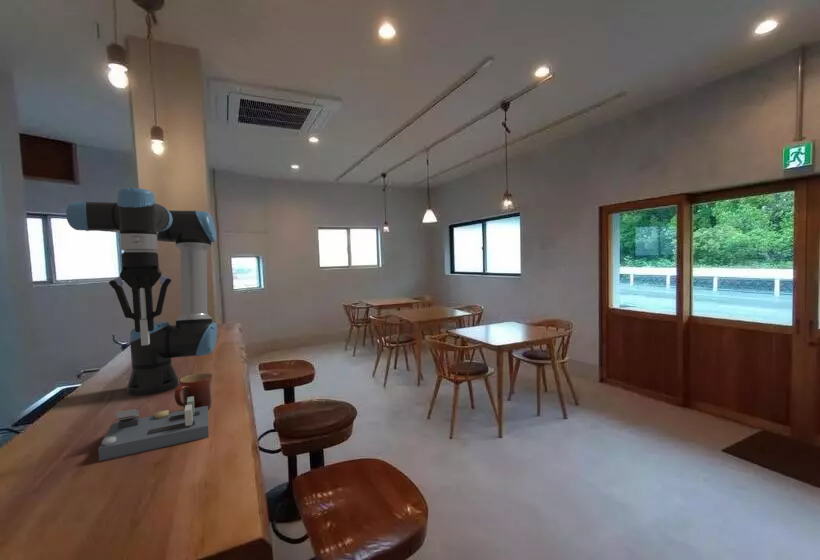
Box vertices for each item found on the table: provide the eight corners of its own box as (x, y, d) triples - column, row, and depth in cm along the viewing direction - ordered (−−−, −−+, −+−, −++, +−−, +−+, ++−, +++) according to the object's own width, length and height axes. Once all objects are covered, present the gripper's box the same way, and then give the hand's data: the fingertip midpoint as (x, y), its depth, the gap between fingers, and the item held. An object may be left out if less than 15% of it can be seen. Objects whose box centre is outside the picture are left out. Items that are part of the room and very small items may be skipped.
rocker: (122, 419, 98) (122, 412, 98) (139, 416, 100) (139, 409, 100) (116, 418, 91) (116, 411, 92) (133, 415, 93) (133, 408, 93)
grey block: (188, 411, 103) (187, 397, 103) (194, 410, 104) (193, 396, 103) (187, 416, 99) (186, 402, 99) (194, 415, 100) (193, 400, 100)
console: (113, 434, 97) (112, 417, 97) (208, 415, 108) (207, 400, 108) (99, 461, 84) (97, 442, 84) (208, 437, 95) (207, 420, 95)
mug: (196, 404, 117) (194, 372, 116) (220, 405, 115) (219, 373, 115) (164, 420, 105) (162, 385, 105) (190, 423, 103) (188, 387, 103)
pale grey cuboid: (186, 420, 97) (185, 405, 97) (192, 418, 98) (191, 404, 98) (185, 426, 94) (184, 410, 93) (192, 424, 94) (191, 409, 94)
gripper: (103, 251, 86) (110, 350, 88) (169, 251, 93) (174, 343, 94) (110, 252, 93) (116, 344, 94) (171, 251, 99) (176, 338, 101)
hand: (145, 344), depth 94 cm, fingers closed
